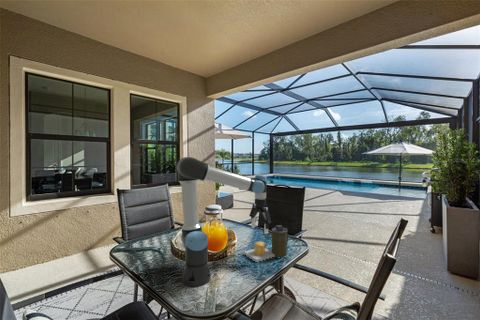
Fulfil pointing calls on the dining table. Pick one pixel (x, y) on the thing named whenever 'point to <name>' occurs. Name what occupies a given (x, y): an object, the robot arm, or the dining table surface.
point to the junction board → (258, 258)
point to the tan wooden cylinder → (259, 248)
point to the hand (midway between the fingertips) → (259, 230)
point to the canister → (279, 241)
